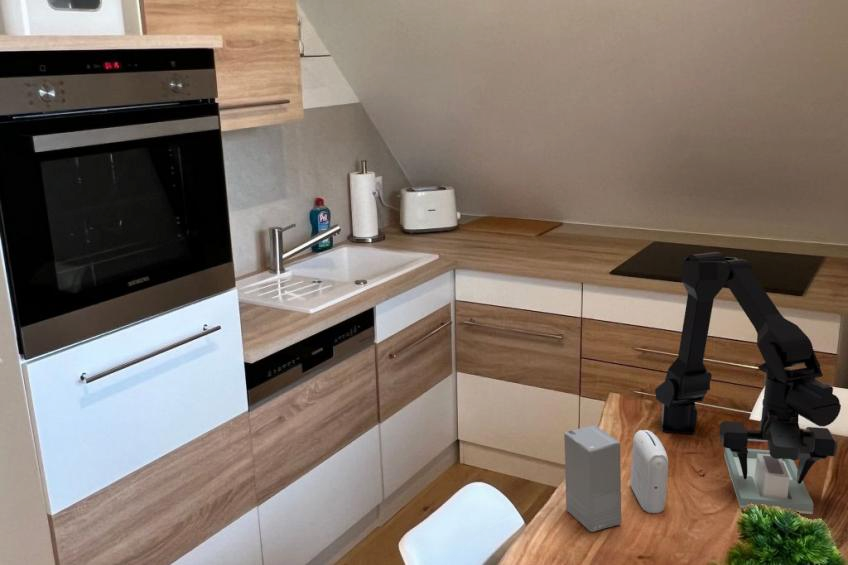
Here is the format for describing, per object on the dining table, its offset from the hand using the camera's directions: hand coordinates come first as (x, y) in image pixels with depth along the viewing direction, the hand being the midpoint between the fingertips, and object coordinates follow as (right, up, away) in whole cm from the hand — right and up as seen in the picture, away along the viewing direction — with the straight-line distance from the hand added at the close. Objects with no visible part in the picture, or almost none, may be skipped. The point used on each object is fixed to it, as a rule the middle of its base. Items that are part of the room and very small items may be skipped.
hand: (771, 480), depth 149 cm
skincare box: (-34, -5, -5) cm, 35 cm away
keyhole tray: (+1, -2, +5) cm, 5 cm away
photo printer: (-23, -4, +1) cm, 23 cm away
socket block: (0, -2, +1) cm, 2 cm away
